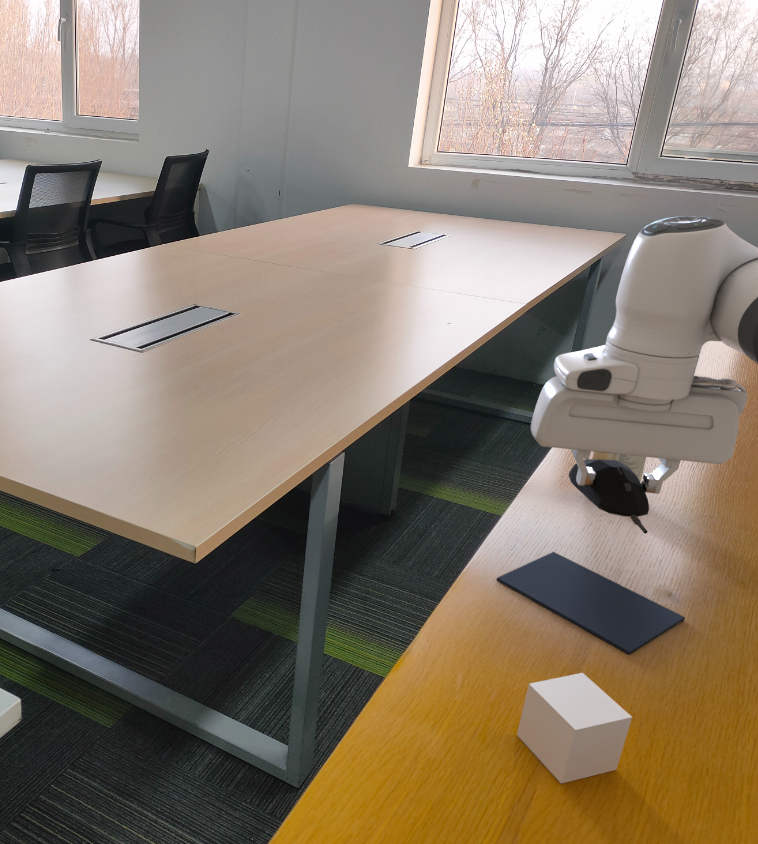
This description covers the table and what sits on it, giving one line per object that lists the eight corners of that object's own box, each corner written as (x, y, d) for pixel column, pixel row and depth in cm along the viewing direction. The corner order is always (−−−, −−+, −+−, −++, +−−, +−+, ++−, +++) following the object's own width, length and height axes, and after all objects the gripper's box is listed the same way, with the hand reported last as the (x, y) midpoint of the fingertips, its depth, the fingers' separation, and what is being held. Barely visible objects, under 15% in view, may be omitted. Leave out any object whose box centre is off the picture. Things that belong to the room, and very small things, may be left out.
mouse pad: (684, 620, 93) (685, 617, 93) (629, 654, 87) (630, 651, 87) (552, 554, 106) (553, 551, 106) (496, 580, 100) (496, 577, 100)
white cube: (516, 735, 75) (528, 683, 73) (569, 723, 77) (582, 672, 75) (561, 784, 70) (575, 729, 68) (616, 770, 71) (632, 716, 69)
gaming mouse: (615, 532, 85) (624, 499, 83) (558, 472, 99) (565, 442, 97) (675, 534, 85) (684, 501, 83) (609, 474, 99) (617, 444, 97)
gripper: (739, 371, 87) (705, 486, 92) (540, 355, 90) (518, 466, 96) (765, 390, 81) (727, 511, 86) (552, 372, 85) (528, 489, 90)
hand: (616, 487), depth 91 cm, fingers closed on gaming mouse, 5 cm apart
